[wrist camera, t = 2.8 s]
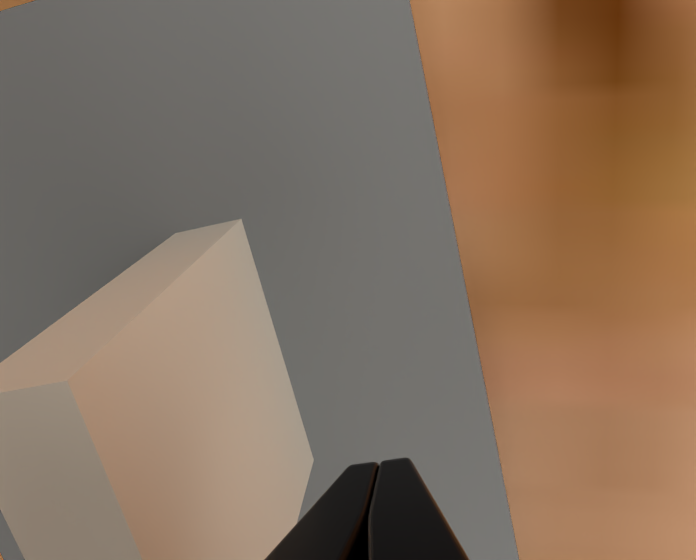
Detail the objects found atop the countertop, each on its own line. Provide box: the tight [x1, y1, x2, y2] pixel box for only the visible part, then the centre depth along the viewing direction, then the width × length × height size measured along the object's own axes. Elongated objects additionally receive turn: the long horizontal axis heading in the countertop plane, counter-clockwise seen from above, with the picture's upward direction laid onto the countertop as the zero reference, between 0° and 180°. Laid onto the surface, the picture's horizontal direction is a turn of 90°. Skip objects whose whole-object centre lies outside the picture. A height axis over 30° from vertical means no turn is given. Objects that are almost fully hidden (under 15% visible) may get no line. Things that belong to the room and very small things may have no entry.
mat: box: [0, 0, 519, 560], centre depth 15 cm, size 18×14×1 cm
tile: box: [0, 219, 314, 560], centre depth 11 cm, size 6×2×7 cm, turn 14°
